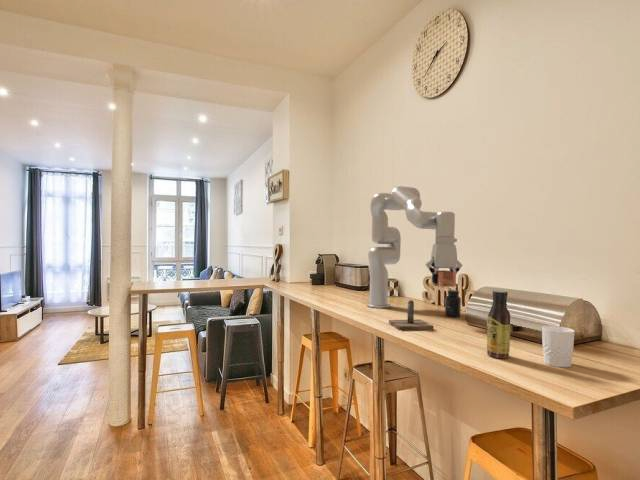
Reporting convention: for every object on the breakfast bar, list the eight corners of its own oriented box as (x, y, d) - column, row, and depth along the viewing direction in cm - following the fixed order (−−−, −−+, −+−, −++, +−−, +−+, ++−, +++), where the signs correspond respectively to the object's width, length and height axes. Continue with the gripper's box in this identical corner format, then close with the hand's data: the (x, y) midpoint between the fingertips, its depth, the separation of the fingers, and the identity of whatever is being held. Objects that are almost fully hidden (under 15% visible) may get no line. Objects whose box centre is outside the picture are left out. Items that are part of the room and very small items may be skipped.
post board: (388, 323, 153) (389, 298, 154) (420, 323, 156) (420, 297, 156) (399, 330, 142) (399, 302, 142) (433, 329, 144) (433, 302, 144)
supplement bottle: (444, 316, 170) (444, 290, 170) (445, 314, 176) (445, 289, 177) (460, 318, 168) (460, 291, 168) (460, 315, 174) (461, 290, 174)
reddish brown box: (431, 284, 157) (432, 270, 157) (447, 284, 159) (447, 270, 159) (439, 286, 151) (440, 272, 151) (455, 286, 152) (456, 272, 152)
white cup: (562, 369, 100) (562, 333, 100) (535, 361, 107) (535, 326, 107) (580, 366, 103) (580, 330, 103) (552, 358, 110) (553, 324, 110)
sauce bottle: (483, 352, 114) (484, 289, 114) (503, 353, 114) (504, 289, 114) (492, 359, 108) (493, 291, 108) (514, 360, 108) (514, 292, 108)
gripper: (459, 241, 160) (458, 282, 160) (421, 240, 157) (420, 282, 157) (468, 241, 152) (467, 284, 152) (429, 240, 149) (428, 284, 150)
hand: (443, 283), depth 155 cm, fingers closed on reddish brown box, 7 cm apart
